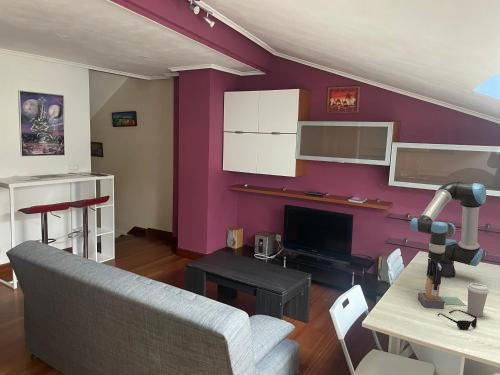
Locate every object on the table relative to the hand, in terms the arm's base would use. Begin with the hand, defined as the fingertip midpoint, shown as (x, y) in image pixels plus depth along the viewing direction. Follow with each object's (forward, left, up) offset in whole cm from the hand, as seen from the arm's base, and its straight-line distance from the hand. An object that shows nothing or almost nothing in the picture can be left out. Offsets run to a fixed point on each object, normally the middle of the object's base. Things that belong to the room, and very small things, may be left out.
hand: (431, 292), depth 201 cm
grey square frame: (0, 0, -6) cm, 6 cm away
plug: (0, 0, -6) cm, 6 cm away
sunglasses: (+18, +5, -7) cm, 20 cm away
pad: (-6, +14, -6) cm, 17 cm away
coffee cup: (+8, +19, -7) cm, 22 cm away
